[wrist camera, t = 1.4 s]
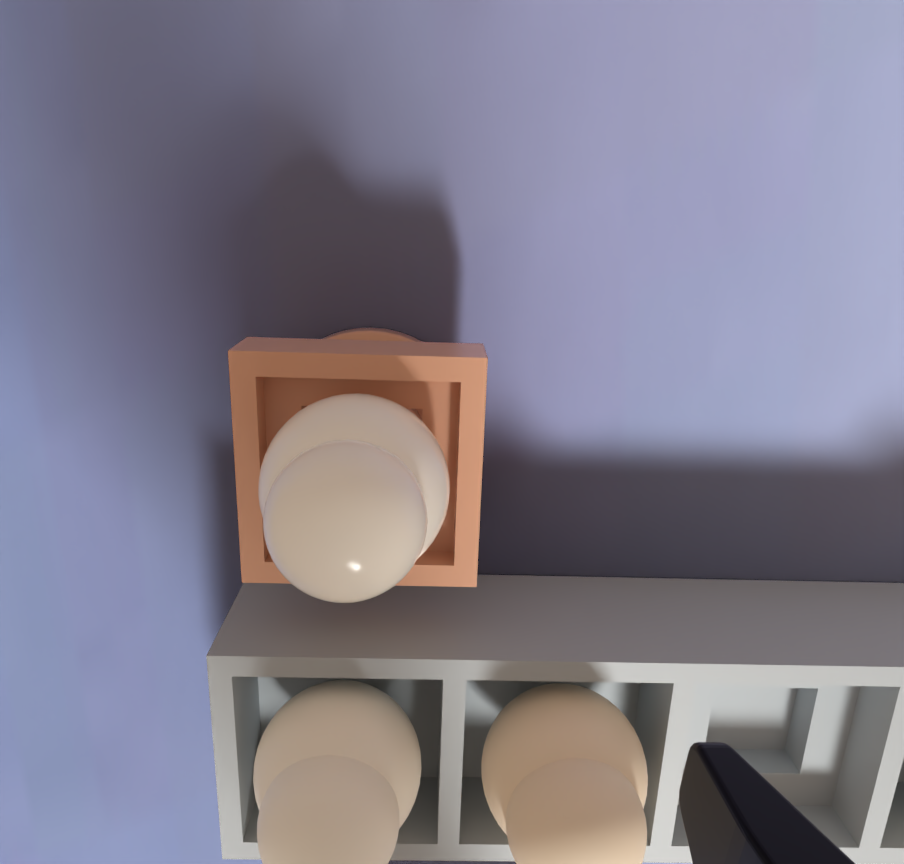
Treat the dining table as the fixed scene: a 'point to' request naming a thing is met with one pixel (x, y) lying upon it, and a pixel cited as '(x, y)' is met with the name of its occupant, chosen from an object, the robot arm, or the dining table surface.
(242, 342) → the egg cup
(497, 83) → the dining table surface
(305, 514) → the egg
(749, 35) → the dining table surface
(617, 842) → the egg carton
